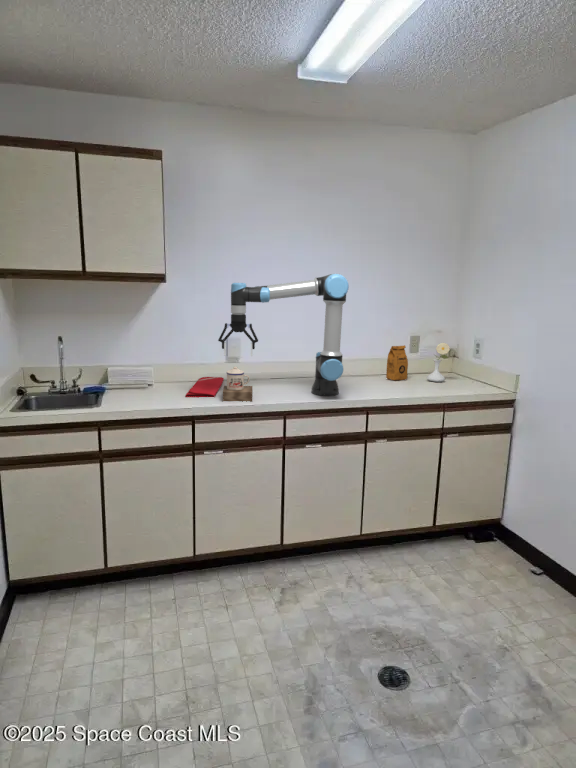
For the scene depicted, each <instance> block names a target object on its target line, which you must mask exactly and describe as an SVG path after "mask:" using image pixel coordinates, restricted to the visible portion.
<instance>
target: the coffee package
mask: <svg viewBox="0 0 576 768" xmlns="http://www.w3.org/2000/svg"><path fill="white" fill-rule="evenodd" d="M405 349H406V345H392V346H391V347H390V349H389V352H388V354H387V359H386V360H387V361H386V372H385V373H386V375H385V376H386V377H385V379H386V378H387V379H386V380H390V379H391V380H390V381H403V380H404V381H406V380H407V378H408V367H409V360H408V356H407V354H406V353H407V352H406V350H405ZM405 379H406V380H405Z"/></svg>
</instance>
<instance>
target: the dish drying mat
mask: <svg viewBox="0 0 576 768" xmlns="http://www.w3.org/2000/svg"><path fill="white" fill-rule="evenodd" d="M224 380H225V379H224V377H222V376H203V377H200V378H198V380H196V382H195V383H194V384H193V385H192V386H191V388H190V389H189V390H188V391H187V392H186V394H185V398H199V397H214V398H216V395H217V394H218V392H219V390H220V388H221V387H222V385H223V383H224Z"/></svg>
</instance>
